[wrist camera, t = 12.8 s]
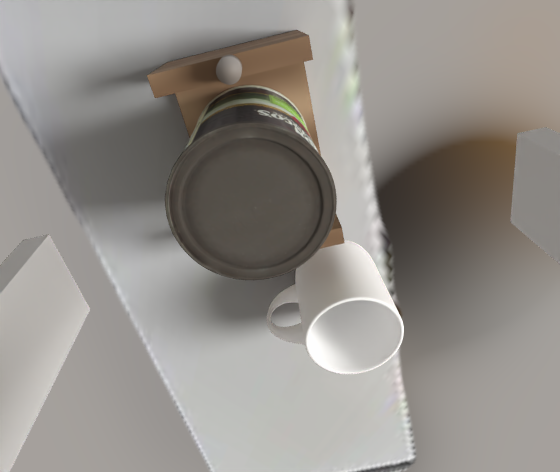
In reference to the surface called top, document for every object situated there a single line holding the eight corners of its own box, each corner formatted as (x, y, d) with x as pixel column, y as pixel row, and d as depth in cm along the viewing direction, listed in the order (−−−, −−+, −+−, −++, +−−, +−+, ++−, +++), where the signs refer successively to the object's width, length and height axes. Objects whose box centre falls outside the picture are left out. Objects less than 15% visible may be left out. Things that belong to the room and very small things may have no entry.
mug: (253, 255, 45) (254, 322, 35) (366, 227, 44) (397, 286, 34) (274, 317, 49) (280, 392, 39) (378, 292, 48) (409, 362, 39)
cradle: (167, 61, 35) (139, 79, 27) (296, 29, 35) (312, 36, 26) (221, 229, 43) (214, 285, 34) (328, 204, 42) (349, 256, 34)
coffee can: (251, 56, 35) (252, 82, 22) (331, 145, 39) (371, 210, 26) (167, 143, 38) (127, 209, 25) (250, 218, 41) (251, 307, 29)
